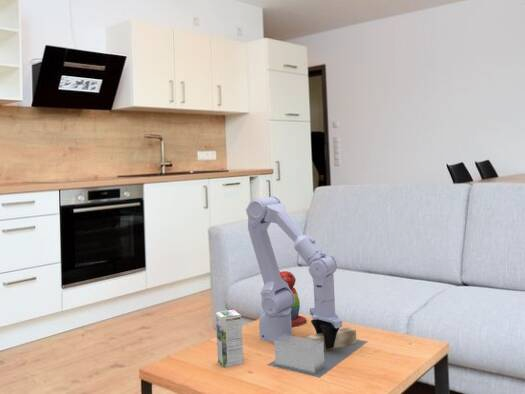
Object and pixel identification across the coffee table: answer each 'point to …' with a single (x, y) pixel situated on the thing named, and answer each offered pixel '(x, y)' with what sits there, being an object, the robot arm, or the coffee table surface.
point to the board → (330, 358)
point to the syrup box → (229, 338)
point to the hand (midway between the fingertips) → (326, 345)
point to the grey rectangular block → (299, 353)
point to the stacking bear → (295, 319)
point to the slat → (337, 338)
